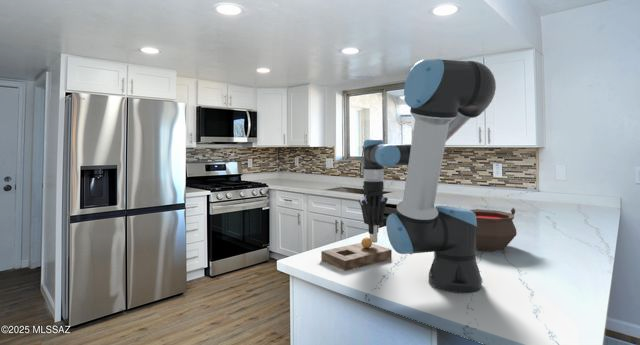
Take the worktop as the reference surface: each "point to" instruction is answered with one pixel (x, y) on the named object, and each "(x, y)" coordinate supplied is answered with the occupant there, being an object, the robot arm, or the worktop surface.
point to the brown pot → (494, 229)
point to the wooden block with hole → (355, 256)
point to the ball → (366, 242)
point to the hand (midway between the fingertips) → (373, 241)
